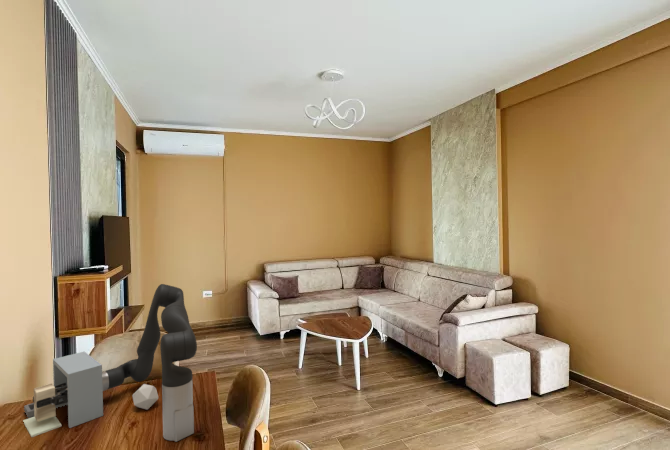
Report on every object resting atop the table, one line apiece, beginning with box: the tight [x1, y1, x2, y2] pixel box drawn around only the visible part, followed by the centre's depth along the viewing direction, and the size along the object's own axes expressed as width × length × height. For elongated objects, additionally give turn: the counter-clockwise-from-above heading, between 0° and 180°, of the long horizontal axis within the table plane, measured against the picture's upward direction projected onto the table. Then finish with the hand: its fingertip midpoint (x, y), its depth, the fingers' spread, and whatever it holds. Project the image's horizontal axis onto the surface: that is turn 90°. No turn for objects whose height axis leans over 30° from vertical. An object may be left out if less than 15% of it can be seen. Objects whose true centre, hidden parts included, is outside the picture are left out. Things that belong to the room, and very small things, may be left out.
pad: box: [22, 415, 62, 438], centre depth 124 cm, size 14×8×1 cm, turn 50°
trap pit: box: [23, 402, 35, 419], centre depth 133 cm, size 7×7×2 cm
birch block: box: [33, 383, 57, 422], centre depth 125 cm, size 5×5×10 cm
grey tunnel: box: [52, 351, 104, 429], centre depth 132 cm, size 21×10×18 cm, turn 50°
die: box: [132, 383, 159, 411], centre depth 135 cm, size 8×9×10 cm
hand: (35, 402), depth 123 cm, fingers closed on birch block, 5 cm apart
